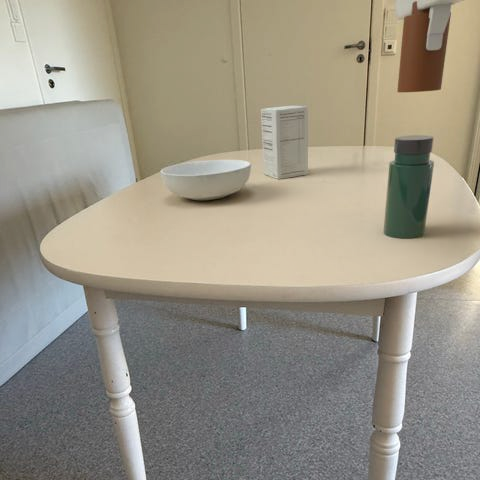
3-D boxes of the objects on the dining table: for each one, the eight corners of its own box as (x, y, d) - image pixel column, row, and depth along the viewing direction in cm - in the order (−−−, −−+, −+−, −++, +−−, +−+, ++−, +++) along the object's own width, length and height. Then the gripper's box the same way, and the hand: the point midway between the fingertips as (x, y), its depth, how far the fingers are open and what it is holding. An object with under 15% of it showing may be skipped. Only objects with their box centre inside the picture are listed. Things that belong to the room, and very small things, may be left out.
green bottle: (417, 225, 76) (429, 133, 69) (430, 237, 70) (444, 138, 63) (379, 227, 76) (387, 136, 69) (388, 239, 70) (397, 141, 64)
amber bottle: (432, 88, 66) (446, -16, 60) (447, 89, 61) (462, -25, 55) (392, 91, 66) (401, -12, 60) (403, 92, 61) (414, -21, 55)
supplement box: (292, 170, 128) (292, 105, 120) (309, 174, 120) (309, 105, 112) (262, 174, 125) (259, 108, 117) (277, 179, 117) (275, 109, 109)
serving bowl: (269, 189, 107) (268, 159, 104) (217, 211, 93) (214, 177, 89) (201, 184, 118) (199, 157, 115) (145, 203, 103) (140, 172, 100)
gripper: (505, -115, 45) (479, 45, 52) (436, -60, 63) (423, 53, 70) (441, -108, 46) (423, 49, 52) (391, -56, 64) (382, 56, 70)
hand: (423, 51), depth 61 cm, fingers closed on amber bottle, 6 cm apart
